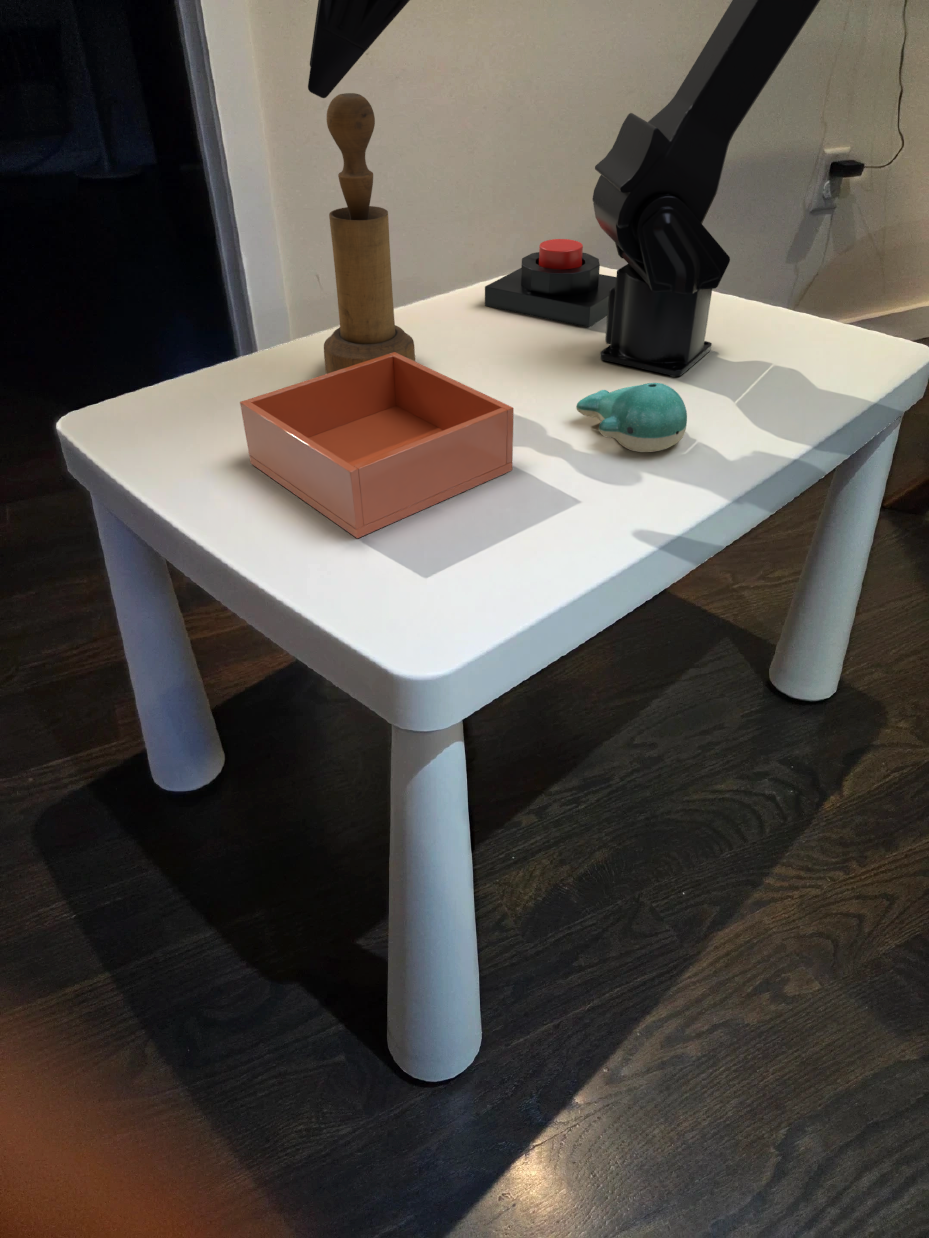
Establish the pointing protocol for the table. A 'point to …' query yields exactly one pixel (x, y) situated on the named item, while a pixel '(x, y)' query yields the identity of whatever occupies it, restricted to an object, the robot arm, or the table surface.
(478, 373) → the table surface
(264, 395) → the orange square tray
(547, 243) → the button
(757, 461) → the table surface
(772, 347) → the table surface
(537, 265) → the control block
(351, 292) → the mortar and pestle
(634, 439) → the whale figurine
